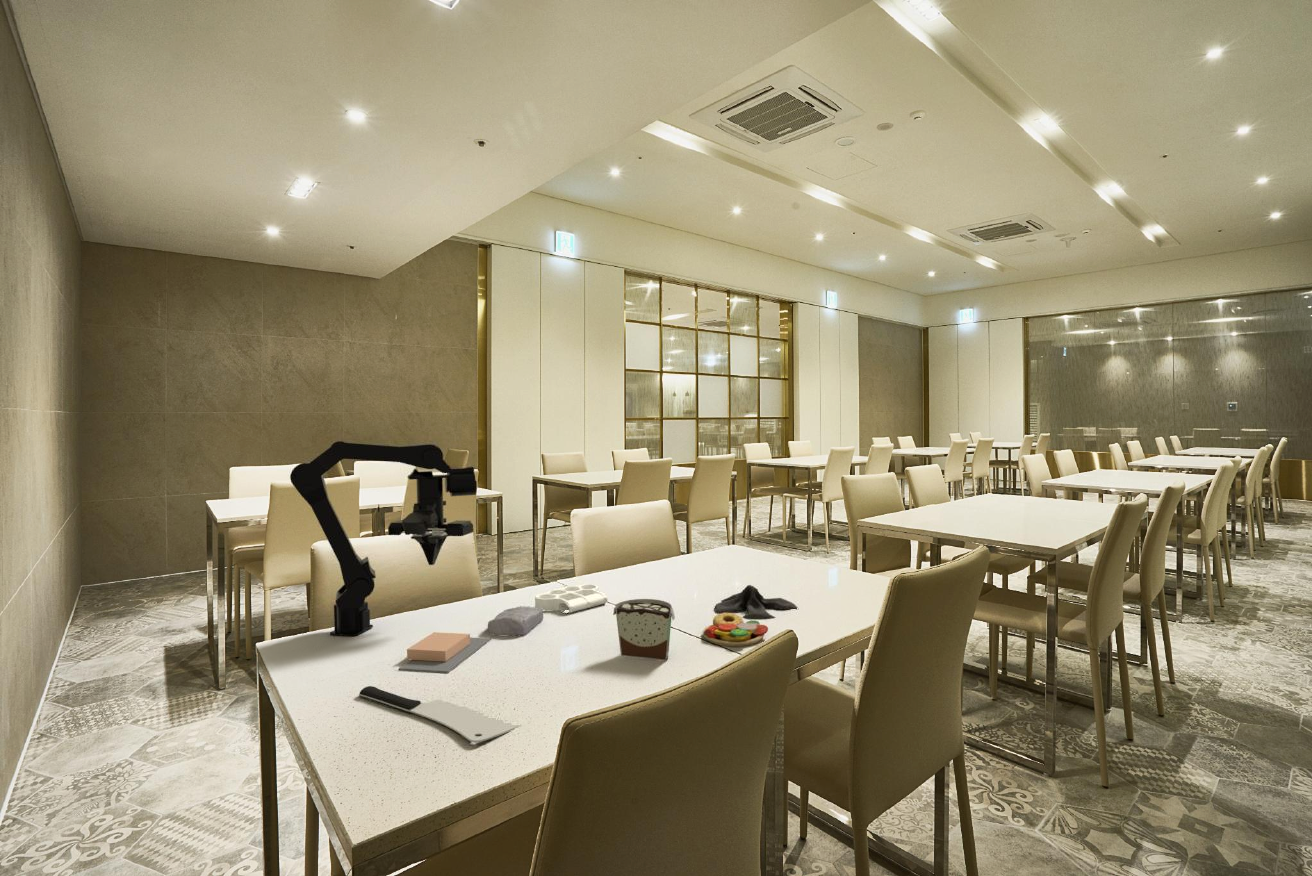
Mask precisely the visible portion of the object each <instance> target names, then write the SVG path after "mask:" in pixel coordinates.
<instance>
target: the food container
mask: <svg viewBox="0 0 1312 876" xmlns="http://www.w3.org/2000/svg"><path fill="white" fill-rule="evenodd" d="M614 606H615V607H614V608H613V614H612V615H614V616H615V617H616V623H617V624H616V625H617V632H618V633H617V634H618V641H619V651H620V657H624V656H625V657H626V658H635V659H642V658H643V659H644V660H653V661H661V662H662V661H663V662H668V660H669V654H670V652H669V651H670V639H671V627H672V621H675V618H676V616H675V612H674V608H673V606H672V604H671V603H670V602H668V601H664V600H661V599H655V598H654V599H653V598H635V599H627V600H624V601H623V600H622V601H620V602H617V603H616V604H615V605H614Z"/></svg>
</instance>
